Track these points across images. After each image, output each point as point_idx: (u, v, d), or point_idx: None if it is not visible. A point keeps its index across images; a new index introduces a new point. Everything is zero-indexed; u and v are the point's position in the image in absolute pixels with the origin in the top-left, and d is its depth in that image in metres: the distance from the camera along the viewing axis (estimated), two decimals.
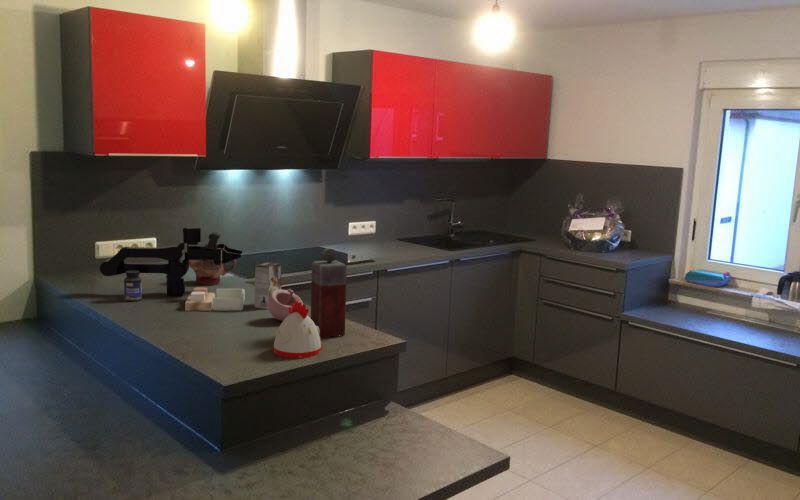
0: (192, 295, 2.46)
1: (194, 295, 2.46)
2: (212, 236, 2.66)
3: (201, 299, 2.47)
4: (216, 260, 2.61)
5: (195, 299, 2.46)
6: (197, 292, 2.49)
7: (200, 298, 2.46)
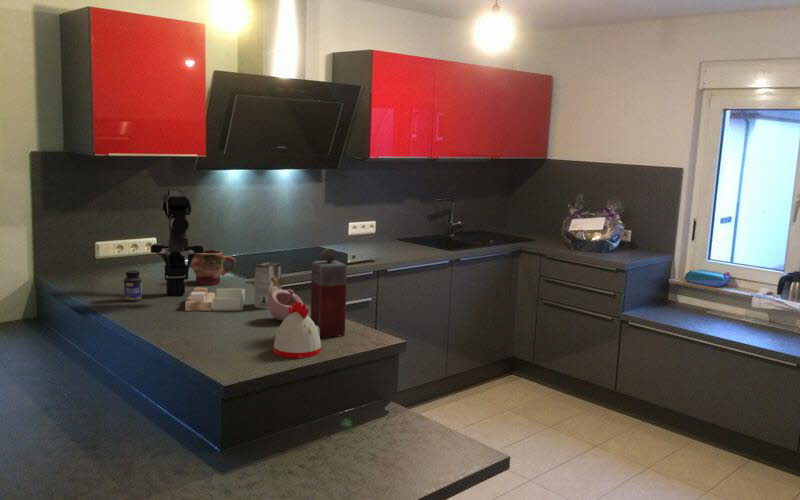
0: (192, 295, 2.46)
1: (194, 295, 2.46)
2: None
3: (201, 299, 2.47)
4: None
5: (195, 299, 2.46)
6: (197, 292, 2.49)
7: (200, 298, 2.46)
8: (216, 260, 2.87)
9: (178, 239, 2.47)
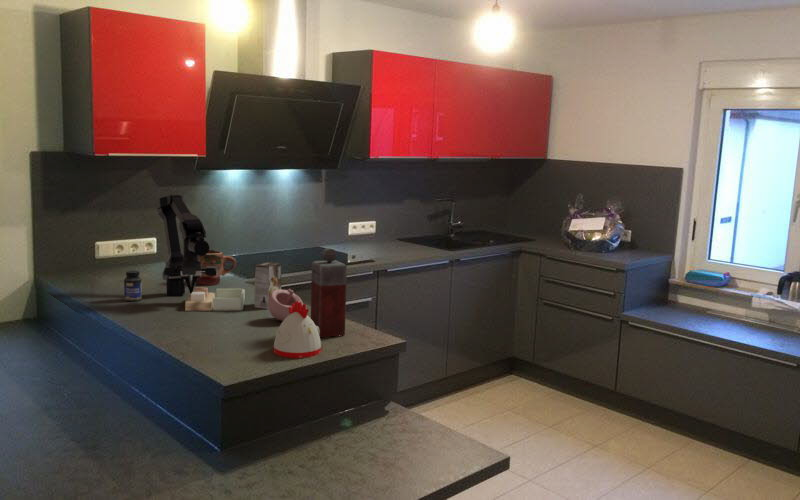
0: (192, 295, 2.46)
1: (194, 295, 2.46)
2: (181, 267, 2.47)
3: (201, 299, 2.47)
4: None
5: (195, 299, 2.46)
6: (197, 292, 2.49)
7: (200, 298, 2.46)
8: (216, 260, 2.87)
9: (191, 262, 2.49)
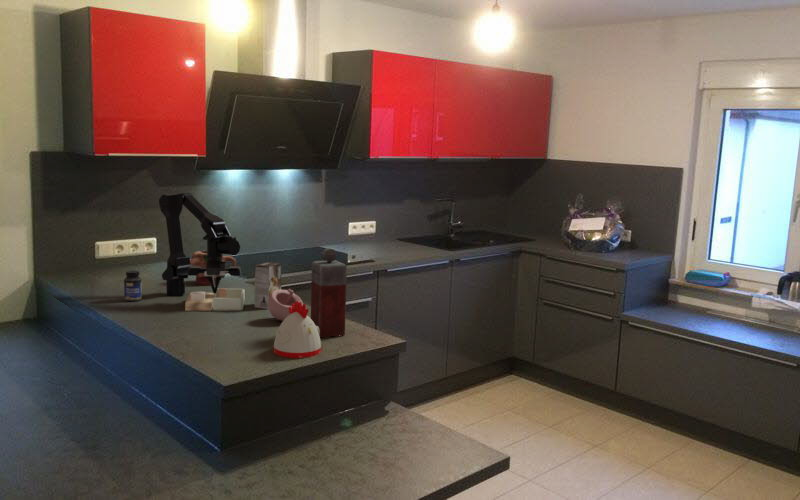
0: (192, 295, 2.46)
1: (194, 295, 2.46)
2: (206, 267, 2.48)
3: (201, 299, 2.47)
4: None
5: (195, 299, 2.46)
6: (197, 292, 2.49)
7: (200, 298, 2.46)
8: None
9: (215, 262, 2.51)
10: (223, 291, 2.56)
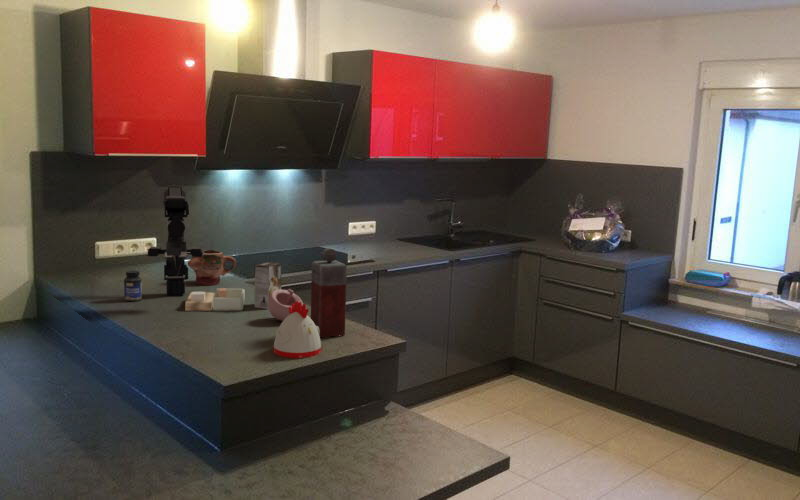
0: (192, 295, 2.46)
1: (194, 295, 2.46)
2: (166, 247, 2.37)
3: (201, 299, 2.47)
4: None
5: (195, 299, 2.46)
6: (197, 292, 2.49)
7: (200, 298, 2.46)
8: (216, 260, 2.87)
9: (176, 242, 2.40)
10: (223, 291, 2.56)
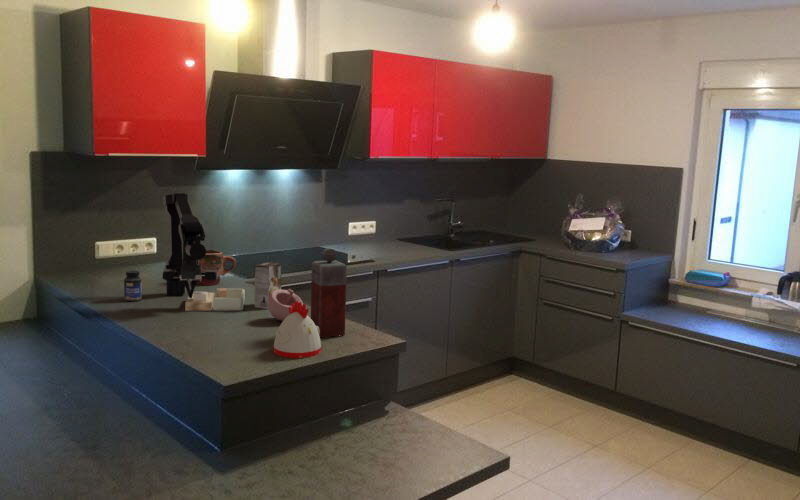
0: (194, 295, 2.46)
1: (196, 295, 2.46)
2: (180, 271, 2.39)
3: (203, 299, 2.47)
4: None
5: (197, 299, 2.46)
6: (199, 292, 2.49)
7: (202, 298, 2.47)
8: (216, 260, 2.87)
9: (190, 266, 2.42)
10: (223, 291, 2.56)
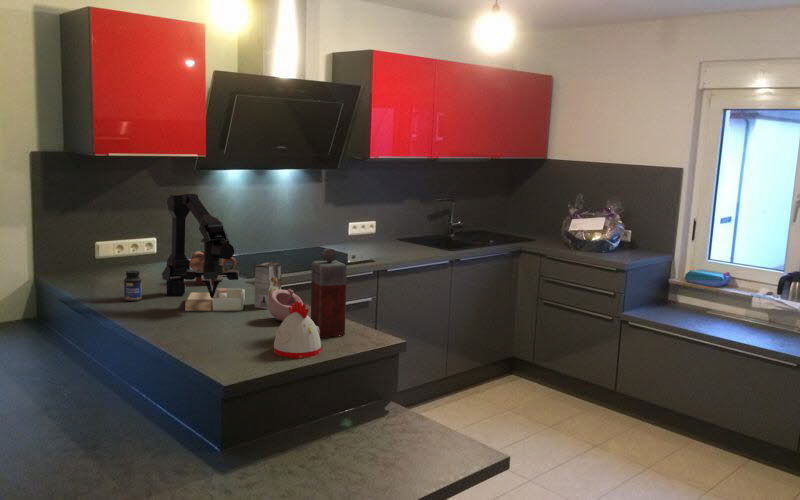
0: (224, 296, 2.48)
1: None
2: (203, 271, 2.40)
3: None
4: None
5: None
6: None
7: None
8: None
9: (213, 266, 2.43)
10: (223, 291, 2.56)
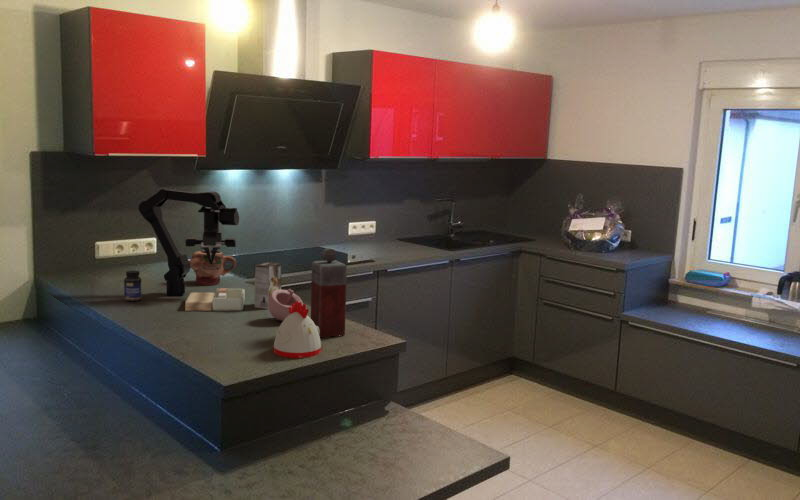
0: (224, 296, 2.48)
1: None
2: (203, 238, 2.57)
3: None
4: None
5: None
6: None
7: None
8: (216, 260, 2.87)
9: (212, 233, 2.59)
10: (223, 291, 2.56)
